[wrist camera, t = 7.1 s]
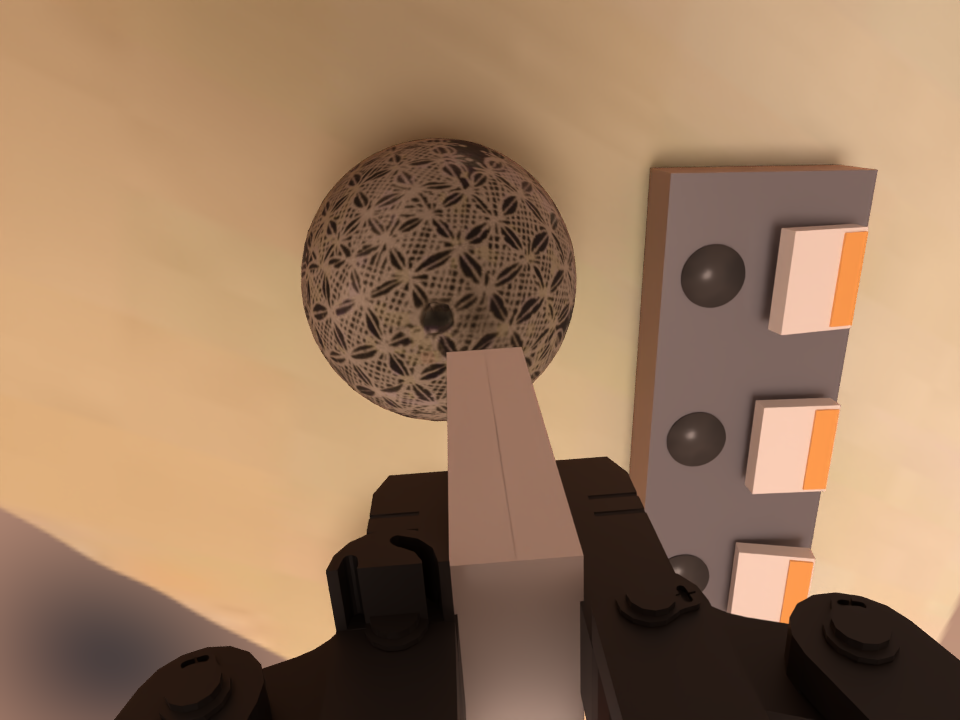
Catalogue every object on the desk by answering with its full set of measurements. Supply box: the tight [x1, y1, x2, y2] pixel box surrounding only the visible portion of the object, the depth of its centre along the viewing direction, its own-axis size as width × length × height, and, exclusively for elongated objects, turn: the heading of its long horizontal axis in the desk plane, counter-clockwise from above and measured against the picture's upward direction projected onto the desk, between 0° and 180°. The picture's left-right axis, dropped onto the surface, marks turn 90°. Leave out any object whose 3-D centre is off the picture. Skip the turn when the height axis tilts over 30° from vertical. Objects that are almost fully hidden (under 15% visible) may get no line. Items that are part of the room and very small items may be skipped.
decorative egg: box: [301, 138, 576, 421], centre depth 30 cm, size 12×12×15 cm
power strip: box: [629, 165, 878, 612], centre depth 39 cm, size 28×10×4 cm, turn 1°
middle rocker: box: [745, 398, 841, 494], centre depth 36 cm, size 5×4×1 cm
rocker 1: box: [727, 542, 815, 624], centre depth 39 cm, size 5×4×1 cm
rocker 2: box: [768, 224, 869, 335], centre depth 33 cm, size 5×4×1 cm
